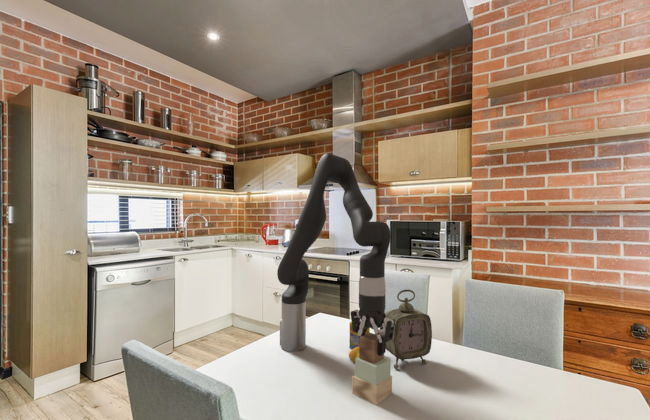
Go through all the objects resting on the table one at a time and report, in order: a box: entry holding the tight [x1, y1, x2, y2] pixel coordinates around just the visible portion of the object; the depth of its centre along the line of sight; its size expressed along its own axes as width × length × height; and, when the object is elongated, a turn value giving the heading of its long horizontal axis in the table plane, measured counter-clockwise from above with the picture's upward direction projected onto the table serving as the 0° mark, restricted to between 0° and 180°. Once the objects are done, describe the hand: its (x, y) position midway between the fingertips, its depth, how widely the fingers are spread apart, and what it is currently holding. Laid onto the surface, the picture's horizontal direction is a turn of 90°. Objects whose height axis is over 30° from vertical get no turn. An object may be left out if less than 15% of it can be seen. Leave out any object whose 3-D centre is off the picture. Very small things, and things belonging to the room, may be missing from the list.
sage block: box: [354, 356, 391, 386], centre depth 90 cm, size 7×7×5 cm
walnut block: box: [359, 332, 385, 364], centre depth 90 cm, size 5×5×6 cm
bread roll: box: [348, 347, 359, 364], centre depth 111 cm, size 8×9×4 cm
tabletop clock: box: [383, 289, 433, 370], centre depth 109 cm, size 14×9×25 cm, turn 109°
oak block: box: [351, 374, 393, 406], centre depth 90 cm, size 8×8×5 cm
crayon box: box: [349, 317, 371, 350], centre depth 119 cm, size 7×3×12 cm, turn 49°
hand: (371, 351), depth 90 cm, fingers open, 5 cm apart
